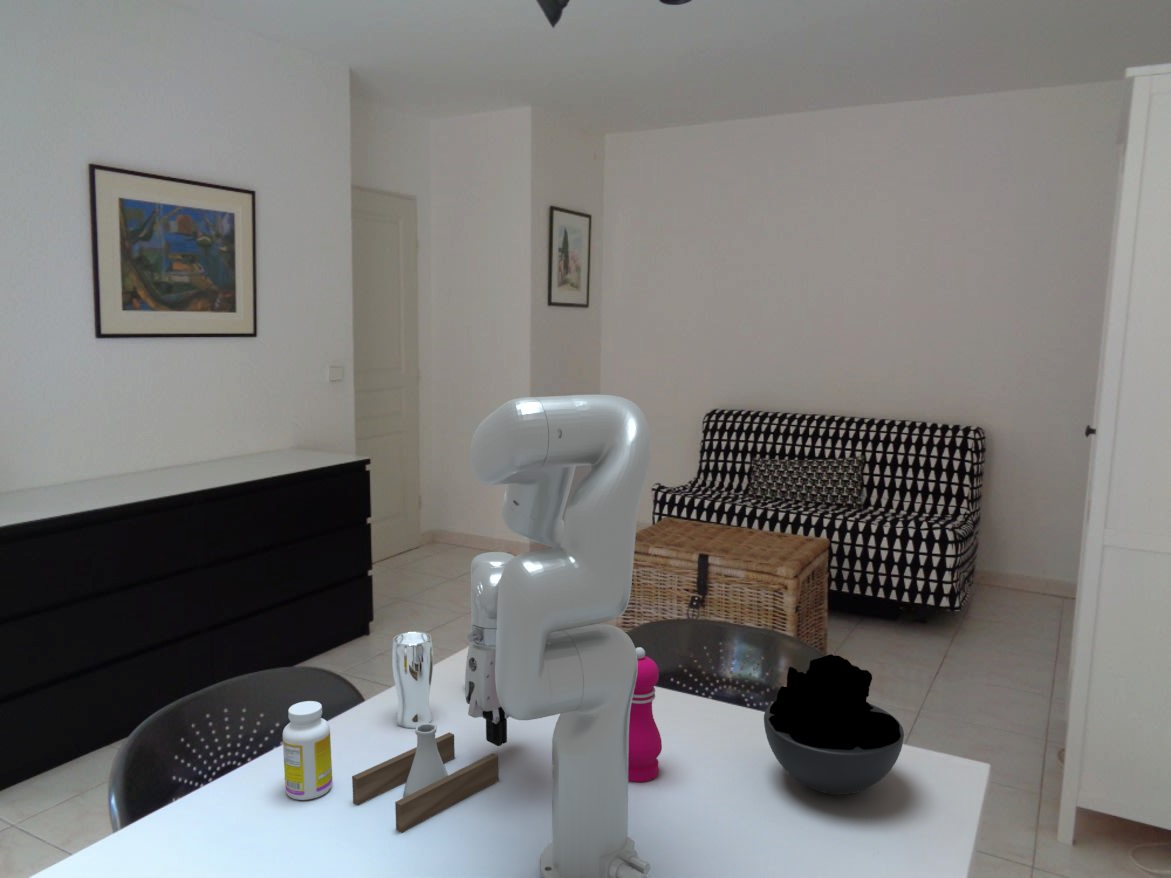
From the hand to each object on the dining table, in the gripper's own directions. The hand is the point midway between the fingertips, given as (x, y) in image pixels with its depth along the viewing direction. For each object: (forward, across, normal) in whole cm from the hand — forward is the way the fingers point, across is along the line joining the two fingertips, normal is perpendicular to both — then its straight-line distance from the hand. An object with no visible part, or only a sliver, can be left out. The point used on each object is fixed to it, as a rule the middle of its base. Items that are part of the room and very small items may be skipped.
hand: (496, 741), depth 136 cm
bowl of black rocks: (+2, +27, -44) cm, 52 cm away
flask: (+3, -14, 0) cm, 14 cm away
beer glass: (+3, -1, +20) cm, 20 cm away
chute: (+2, -14, 0) cm, 14 cm away
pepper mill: (+3, +11, -20) cm, 23 cm away
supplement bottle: (+3, -25, +13) cm, 29 cm away
